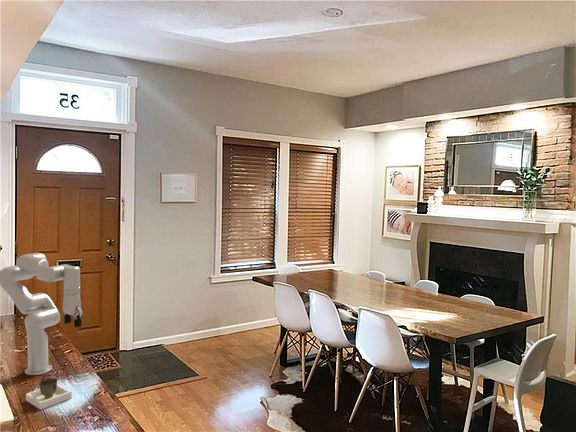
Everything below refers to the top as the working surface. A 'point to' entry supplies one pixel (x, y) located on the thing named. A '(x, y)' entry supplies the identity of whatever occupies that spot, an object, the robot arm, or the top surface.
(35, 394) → the tray
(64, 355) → the top surface
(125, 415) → the top surface
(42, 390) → the ornate bronze bell
